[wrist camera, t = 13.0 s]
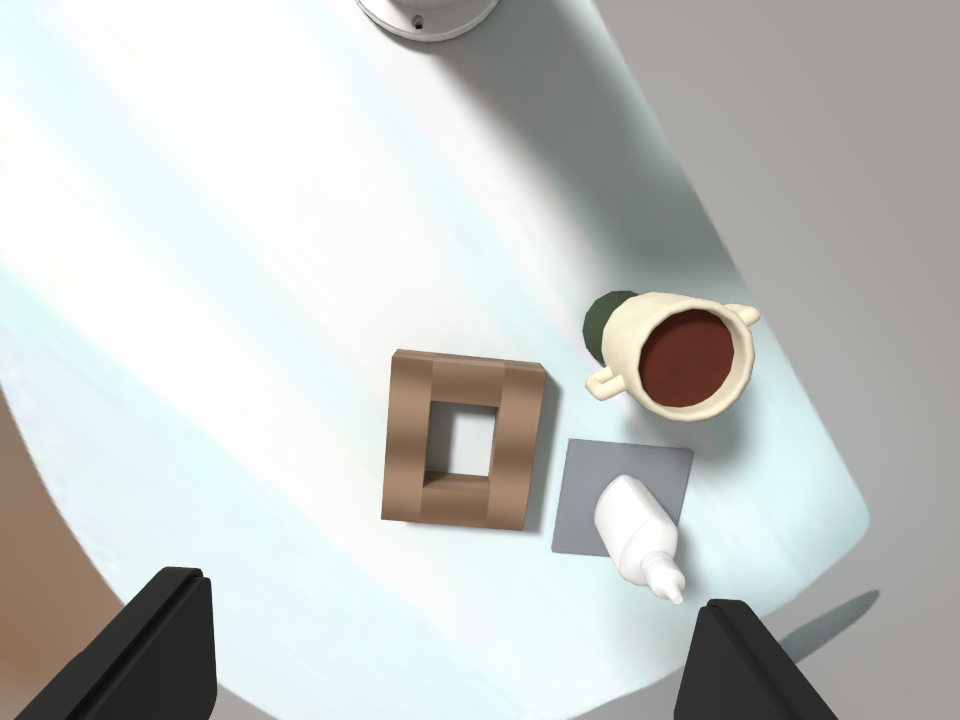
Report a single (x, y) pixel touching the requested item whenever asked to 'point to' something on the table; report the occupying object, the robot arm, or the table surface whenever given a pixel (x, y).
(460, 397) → the walnut dock
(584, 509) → the slate mat
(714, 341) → the character mug
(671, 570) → the eye dropper bottle
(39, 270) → the table surface
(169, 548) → the table surface
